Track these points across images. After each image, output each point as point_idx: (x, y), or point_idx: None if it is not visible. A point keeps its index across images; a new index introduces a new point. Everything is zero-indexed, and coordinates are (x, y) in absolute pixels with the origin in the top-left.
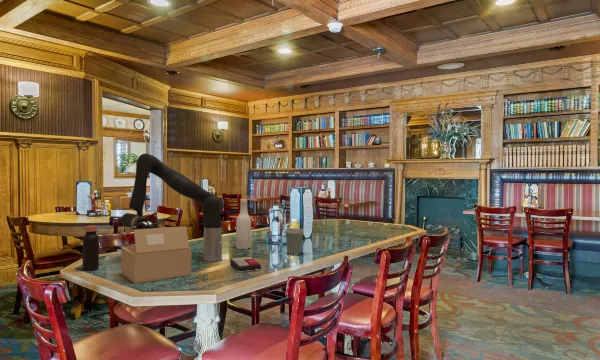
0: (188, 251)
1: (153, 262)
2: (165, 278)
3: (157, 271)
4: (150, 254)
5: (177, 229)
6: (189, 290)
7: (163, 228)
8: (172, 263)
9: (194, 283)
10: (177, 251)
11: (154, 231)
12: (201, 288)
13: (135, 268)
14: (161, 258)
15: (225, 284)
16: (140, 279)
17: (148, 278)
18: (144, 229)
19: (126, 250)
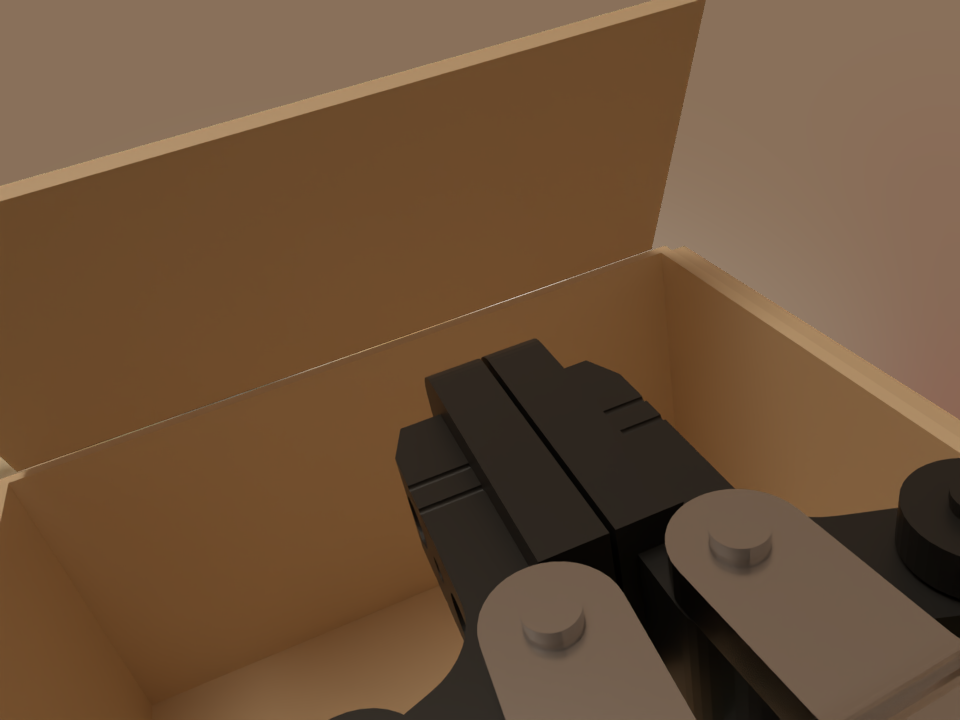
0: (51, 493)
1: None
2: (414, 593)
3: None
4: (512, 316)
5: (16, 226)
6: (288, 376)
7: (256, 125)
8: (302, 513)
9: None
10: (196, 427)
11: (414, 115)
12: (210, 404)
13: (666, 376)
14: (406, 409)
15: (33, 466)
16: None
17: None
18: (555, 35)
19: (887, 376)
